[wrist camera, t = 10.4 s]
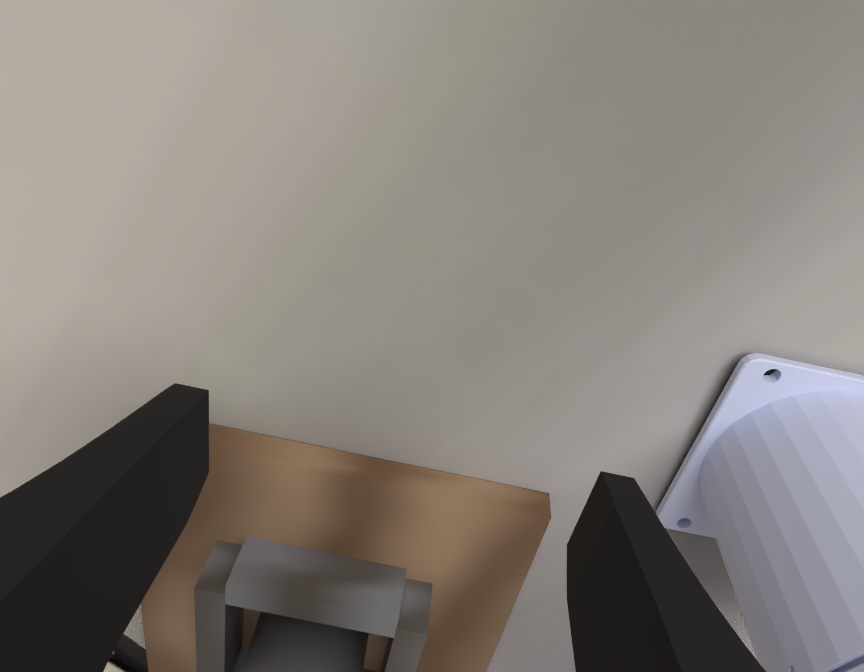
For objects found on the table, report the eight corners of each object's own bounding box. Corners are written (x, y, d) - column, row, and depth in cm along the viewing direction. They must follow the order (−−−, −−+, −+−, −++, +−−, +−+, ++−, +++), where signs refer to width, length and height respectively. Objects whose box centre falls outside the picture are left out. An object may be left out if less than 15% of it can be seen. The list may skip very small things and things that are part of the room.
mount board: (549, 493, 25) (554, 570, 22) (454, 724, 34) (450, 798, 31) (138, 409, 24) (87, 475, 21) (160, 665, 34) (128, 735, 31)
